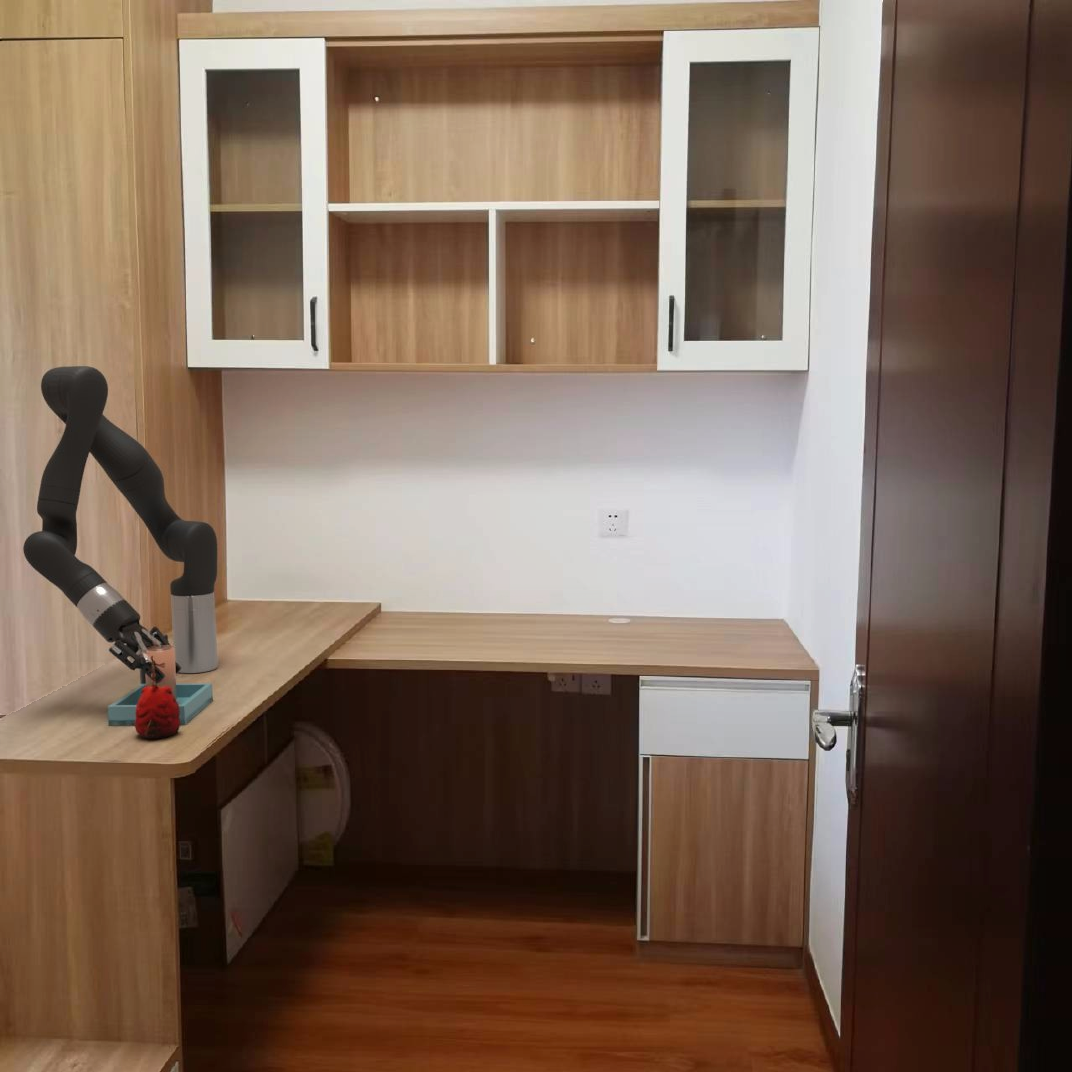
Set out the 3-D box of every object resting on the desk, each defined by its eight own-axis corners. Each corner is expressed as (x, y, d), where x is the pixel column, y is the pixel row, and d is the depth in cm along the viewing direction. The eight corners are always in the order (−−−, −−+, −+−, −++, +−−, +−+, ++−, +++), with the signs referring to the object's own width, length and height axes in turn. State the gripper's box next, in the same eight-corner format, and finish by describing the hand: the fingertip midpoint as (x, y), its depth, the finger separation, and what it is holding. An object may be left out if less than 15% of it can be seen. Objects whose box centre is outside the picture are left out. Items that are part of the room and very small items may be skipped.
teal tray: (142, 701, 200) (141, 683, 200) (212, 700, 200) (212, 683, 200) (108, 725, 184) (107, 706, 184) (185, 724, 184) (184, 706, 184)
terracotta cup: (153, 695, 195) (151, 644, 194) (181, 696, 195) (179, 644, 193) (142, 703, 189) (139, 651, 188) (170, 703, 189) (168, 651, 188)
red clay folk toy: (184, 728, 182) (180, 647, 181) (176, 740, 176) (172, 656, 174) (140, 730, 181) (135, 648, 180) (130, 742, 174) (125, 658, 173)
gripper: (97, 605, 184) (161, 672, 183) (141, 592, 198) (200, 654, 197) (73, 633, 186) (136, 699, 185) (118, 618, 200) (177, 679, 199)
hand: (169, 676), depth 191 cm, fingers closed on terracotta cup, 5 cm apart
